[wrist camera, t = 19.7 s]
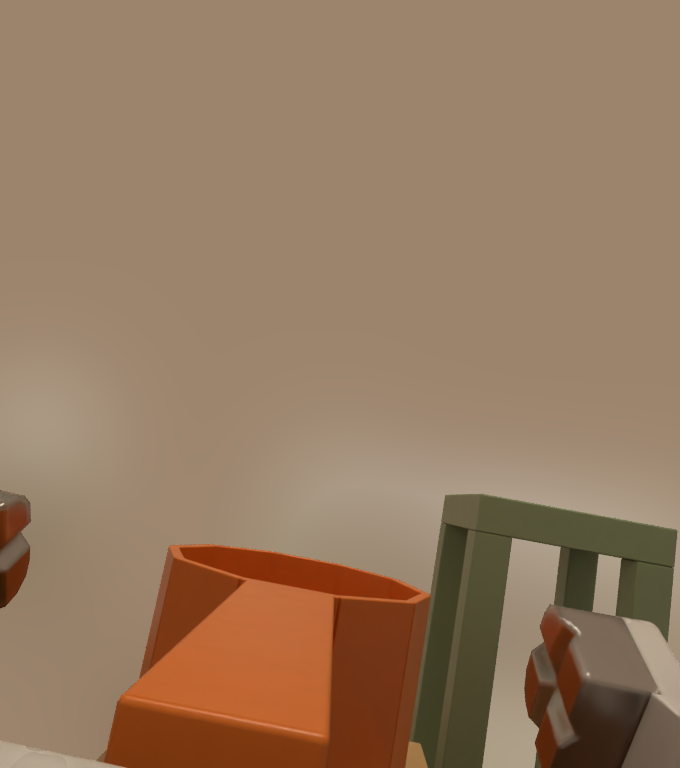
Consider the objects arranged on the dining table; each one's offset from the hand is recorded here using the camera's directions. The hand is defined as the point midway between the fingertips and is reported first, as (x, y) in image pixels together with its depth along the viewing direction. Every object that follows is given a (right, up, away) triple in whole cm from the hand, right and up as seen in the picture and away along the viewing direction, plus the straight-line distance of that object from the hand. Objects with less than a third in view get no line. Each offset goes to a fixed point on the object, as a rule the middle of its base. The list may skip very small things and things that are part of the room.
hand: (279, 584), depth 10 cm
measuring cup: (-1, -7, +4) cm, 8 cm away
